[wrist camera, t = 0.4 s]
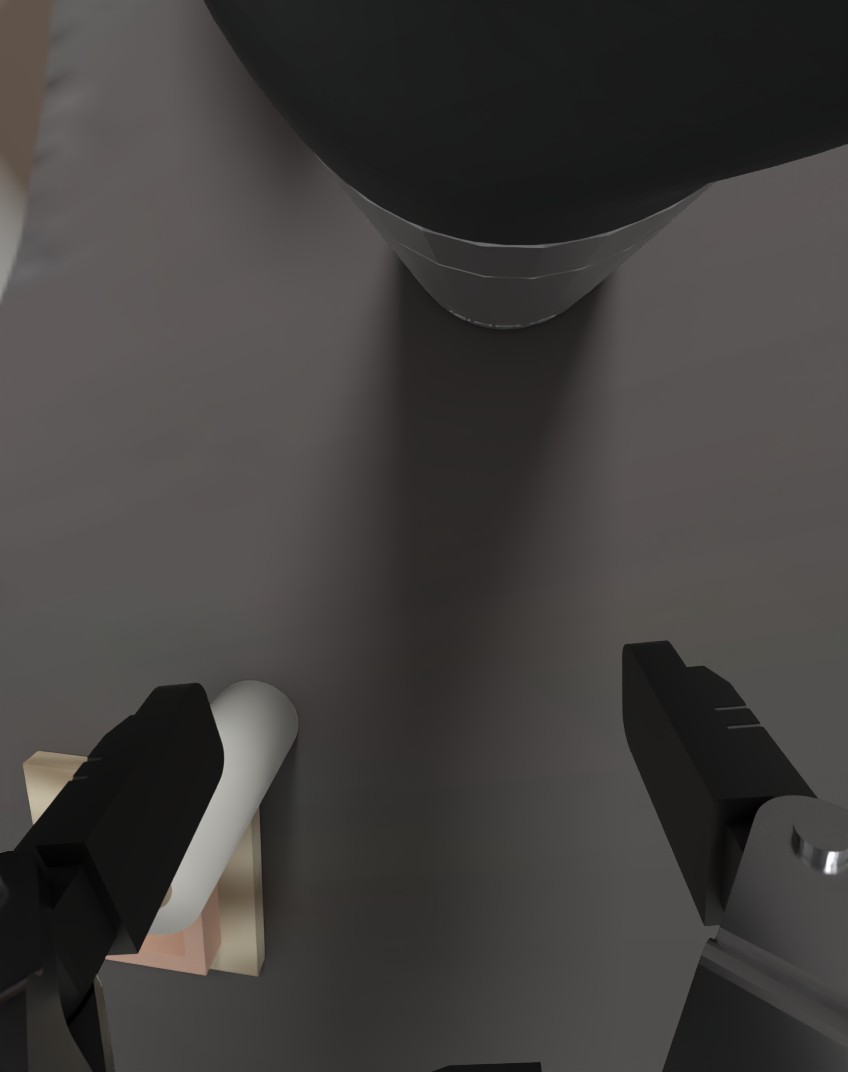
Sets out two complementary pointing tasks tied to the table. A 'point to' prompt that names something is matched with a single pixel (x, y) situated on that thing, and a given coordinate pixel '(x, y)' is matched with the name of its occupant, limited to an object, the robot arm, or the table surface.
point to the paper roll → (231, 793)
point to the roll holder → (228, 916)
